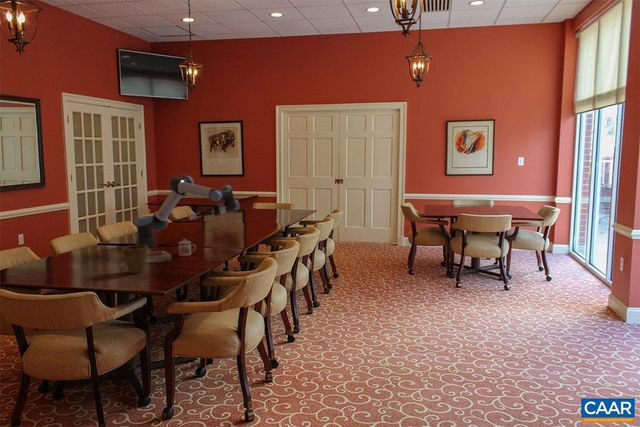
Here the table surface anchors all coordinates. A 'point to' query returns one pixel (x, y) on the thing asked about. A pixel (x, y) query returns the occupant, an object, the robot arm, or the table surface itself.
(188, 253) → the teacup with lid
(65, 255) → the table surface
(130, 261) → the plant pot
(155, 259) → the square tray
